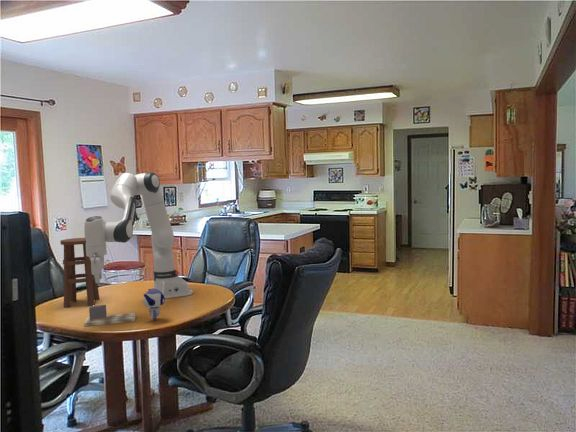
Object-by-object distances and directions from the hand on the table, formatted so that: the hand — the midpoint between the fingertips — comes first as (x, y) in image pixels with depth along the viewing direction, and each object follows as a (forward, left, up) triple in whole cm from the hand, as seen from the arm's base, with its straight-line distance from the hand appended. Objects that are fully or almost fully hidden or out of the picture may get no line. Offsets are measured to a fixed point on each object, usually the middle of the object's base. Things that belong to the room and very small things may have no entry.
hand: (98, 281), depth 223 cm
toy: (-24, +8, -20) cm, 32 cm away
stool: (+14, -41, -20) cm, 48 cm away
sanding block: (+1, +1, -18) cm, 18 cm away
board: (-4, +1, -19) cm, 20 cm away
